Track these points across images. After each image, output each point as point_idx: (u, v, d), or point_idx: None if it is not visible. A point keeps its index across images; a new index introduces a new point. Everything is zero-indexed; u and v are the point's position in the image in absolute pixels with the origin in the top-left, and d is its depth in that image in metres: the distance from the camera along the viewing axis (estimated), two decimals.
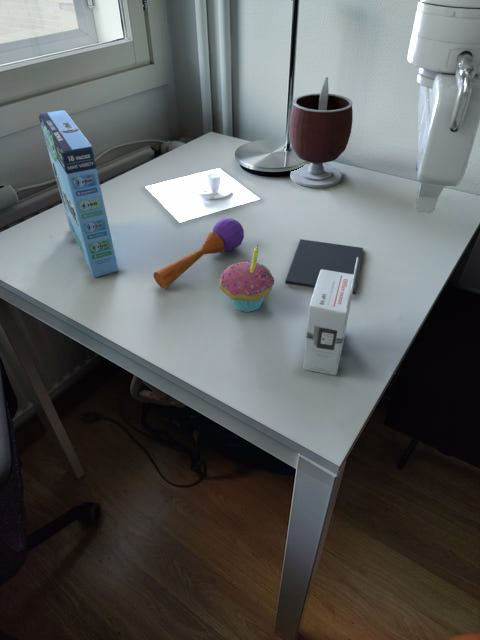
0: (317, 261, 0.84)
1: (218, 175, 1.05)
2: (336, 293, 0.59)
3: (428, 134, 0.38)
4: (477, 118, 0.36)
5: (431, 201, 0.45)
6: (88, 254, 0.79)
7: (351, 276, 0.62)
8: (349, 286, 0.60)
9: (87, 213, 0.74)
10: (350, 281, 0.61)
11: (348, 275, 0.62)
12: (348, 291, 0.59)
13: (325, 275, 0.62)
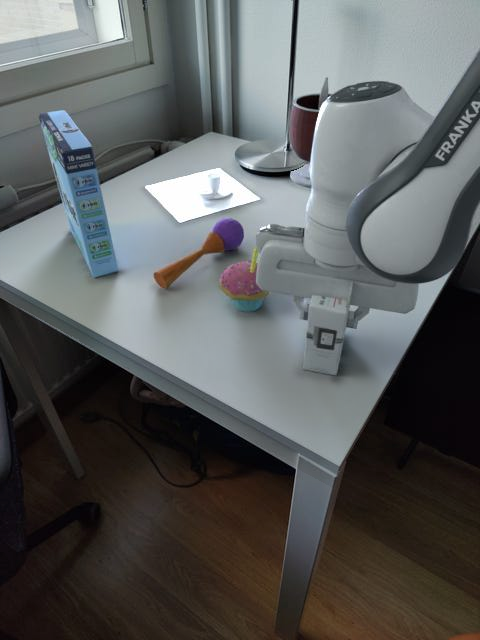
0: None
1: (218, 175, 1.05)
2: None
3: None
4: (260, 253, 0.58)
5: None
6: (88, 254, 0.79)
7: None
8: None
9: (87, 213, 0.74)
10: None
11: None
12: None
13: None
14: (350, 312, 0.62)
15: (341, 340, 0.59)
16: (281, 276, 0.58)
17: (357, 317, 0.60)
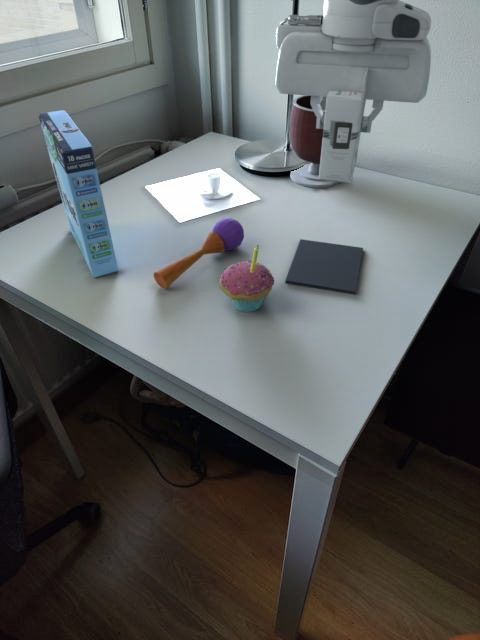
0: (317, 261, 0.84)
1: (218, 175, 1.05)
2: None
3: None
4: (280, 47, 0.61)
5: (317, 119, 0.67)
6: (88, 254, 0.79)
7: None
8: None
9: (87, 213, 0.74)
10: None
11: None
12: None
13: None
14: (364, 117, 0.66)
15: (356, 135, 0.63)
16: (300, 71, 0.62)
17: (371, 116, 0.64)
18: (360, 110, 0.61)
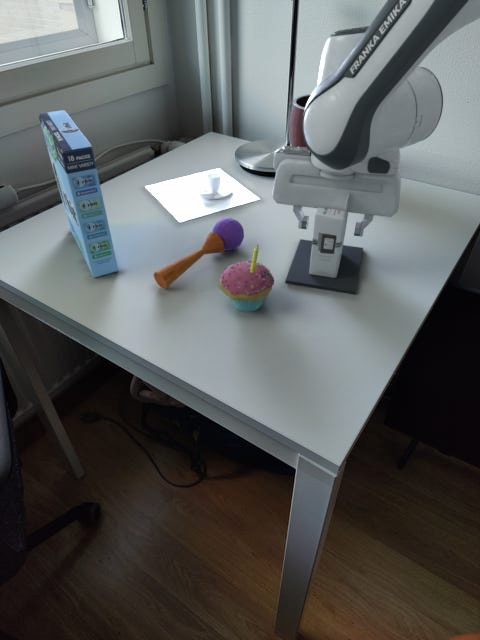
0: None
1: (218, 175, 1.05)
2: None
3: None
4: (277, 170, 0.73)
5: (299, 221, 0.79)
6: (88, 254, 0.79)
7: None
8: None
9: (87, 213, 0.74)
10: None
11: None
12: None
13: None
14: (357, 223, 0.77)
15: (340, 244, 0.75)
16: (293, 189, 0.74)
17: (363, 225, 0.76)
18: (342, 227, 0.73)
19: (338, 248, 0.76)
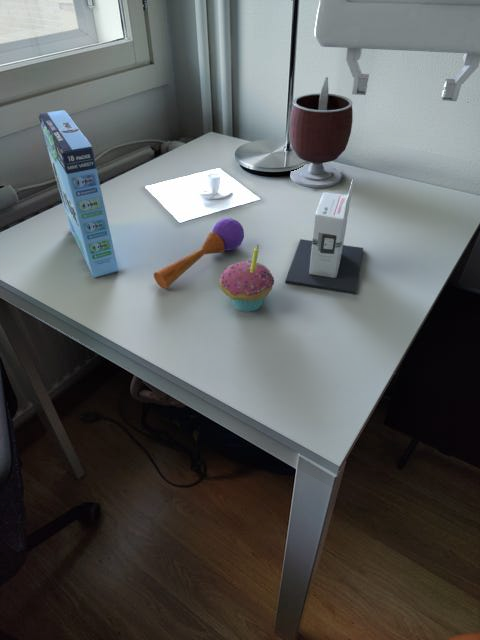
0: None
1: (218, 175, 1.05)
2: (336, 206, 0.75)
3: None
4: None
5: None
6: (88, 254, 0.79)
7: None
8: (346, 202, 0.76)
9: (87, 213, 0.74)
10: (347, 199, 0.77)
11: (345, 195, 0.78)
12: (345, 205, 0.75)
13: (327, 196, 0.78)
14: (448, 79, 0.49)
15: (340, 244, 0.75)
16: (350, 13, 0.45)
17: (461, 78, 0.47)
18: (342, 227, 0.73)
19: (338, 248, 0.76)
